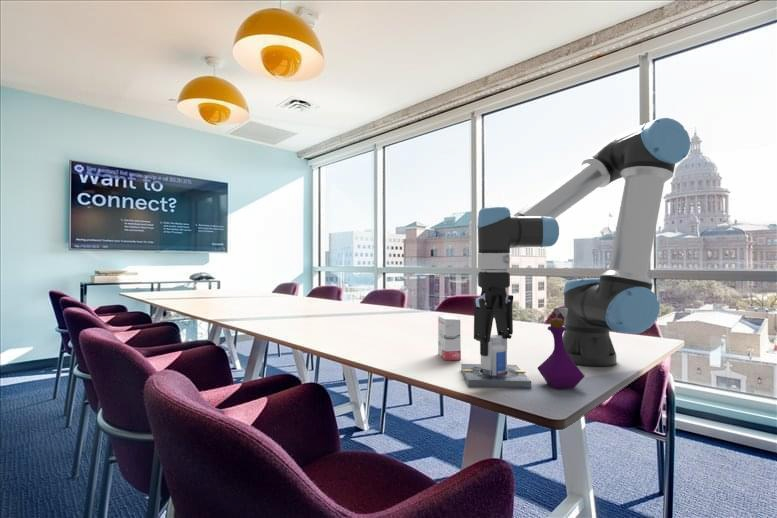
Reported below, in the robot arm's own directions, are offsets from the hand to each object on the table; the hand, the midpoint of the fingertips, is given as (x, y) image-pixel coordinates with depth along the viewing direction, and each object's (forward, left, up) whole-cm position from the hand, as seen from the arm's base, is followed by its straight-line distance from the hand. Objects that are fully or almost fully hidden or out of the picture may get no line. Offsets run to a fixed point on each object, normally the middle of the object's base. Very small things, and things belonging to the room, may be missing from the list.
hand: (493, 366), depth 99 cm
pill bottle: (0, 0, -3) cm, 3 cm away
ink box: (+9, -21, -3) cm, 23 cm away
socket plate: (0, 0, -3) cm, 3 cm away
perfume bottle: (-14, +5, -3) cm, 15 cm away
